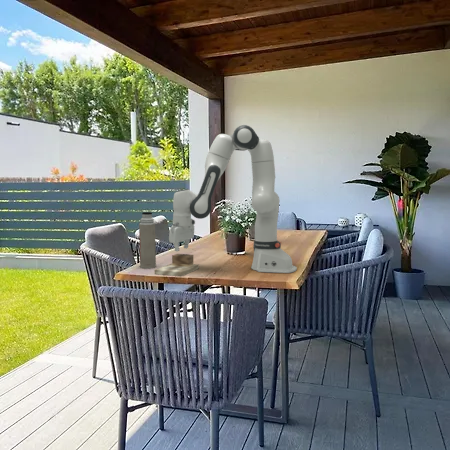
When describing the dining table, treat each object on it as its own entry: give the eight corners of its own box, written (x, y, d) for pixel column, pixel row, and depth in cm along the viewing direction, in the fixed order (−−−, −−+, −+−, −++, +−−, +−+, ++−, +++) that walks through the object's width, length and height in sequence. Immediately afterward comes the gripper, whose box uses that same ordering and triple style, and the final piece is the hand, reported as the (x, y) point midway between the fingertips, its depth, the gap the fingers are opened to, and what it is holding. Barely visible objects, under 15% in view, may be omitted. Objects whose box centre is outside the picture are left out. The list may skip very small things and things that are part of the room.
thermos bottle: (138, 268, 226) (137, 212, 223) (141, 265, 234) (140, 211, 231) (154, 268, 226) (153, 212, 223) (157, 265, 234) (156, 211, 231)
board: (198, 268, 226) (198, 264, 225) (181, 276, 208) (180, 272, 208) (173, 266, 231) (173, 262, 231) (154, 274, 213) (154, 269, 213)
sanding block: (193, 264, 226) (193, 254, 225) (188, 266, 221) (188, 256, 220) (177, 263, 229) (177, 253, 229) (172, 265, 224) (172, 255, 223)
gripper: (177, 224, 212) (177, 253, 213) (196, 220, 231) (196, 247, 232) (165, 223, 214) (165, 252, 216) (185, 219, 233) (185, 246, 235)
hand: (181, 249), depth 224 cm, fingers open, 8 cm apart
